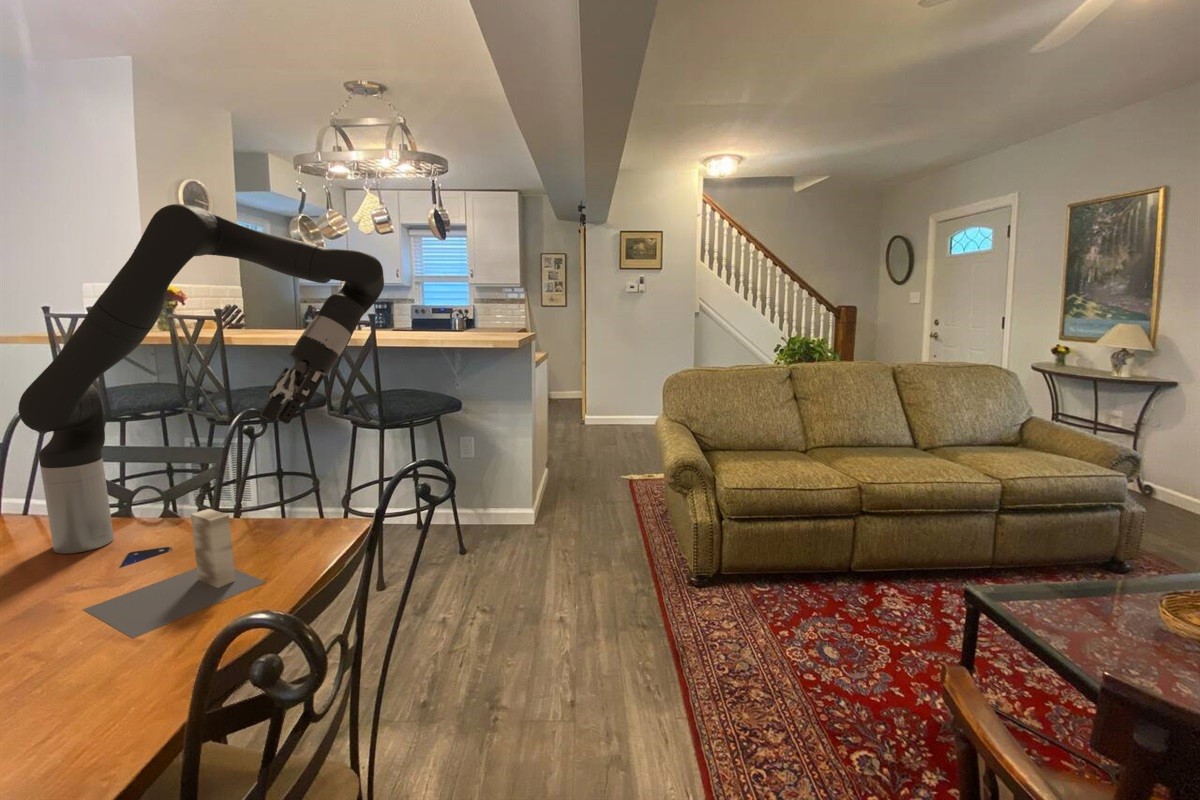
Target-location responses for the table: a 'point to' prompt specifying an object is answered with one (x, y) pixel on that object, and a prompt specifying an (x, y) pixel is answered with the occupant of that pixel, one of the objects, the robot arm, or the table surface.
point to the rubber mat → (166, 602)
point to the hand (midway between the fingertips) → (273, 419)
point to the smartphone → (143, 555)
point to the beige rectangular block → (213, 547)
